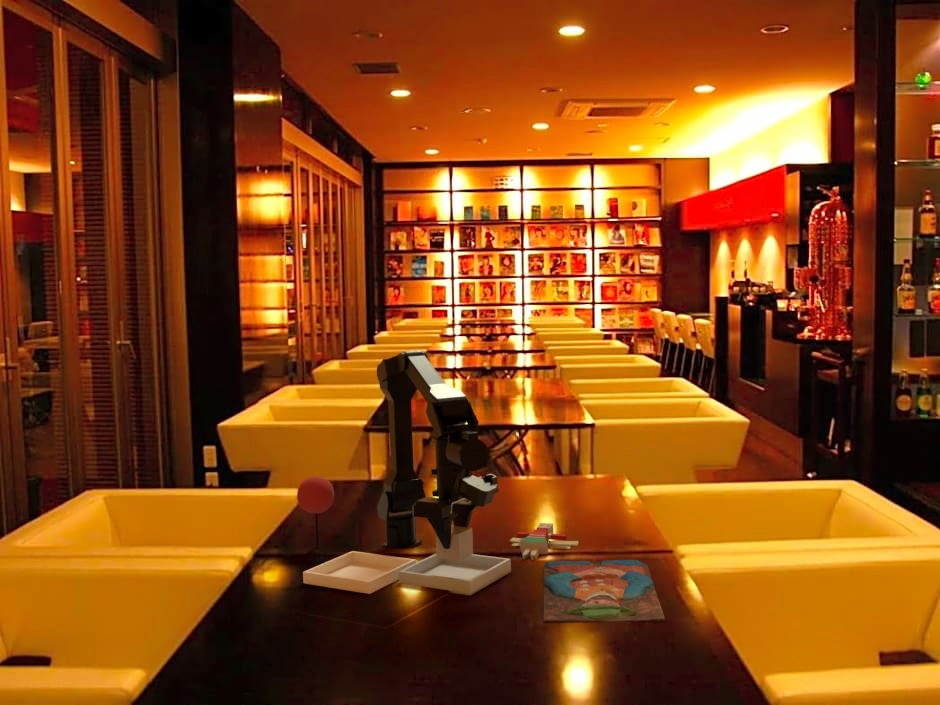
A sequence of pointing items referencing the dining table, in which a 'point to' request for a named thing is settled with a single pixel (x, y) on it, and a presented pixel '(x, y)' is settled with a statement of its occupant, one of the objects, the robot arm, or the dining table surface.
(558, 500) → the dining table surface
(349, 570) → the bin
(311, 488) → the lollipop
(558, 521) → the dining table surface
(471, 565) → the bin
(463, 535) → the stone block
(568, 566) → the plaque
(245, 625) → the dining table surface
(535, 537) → the toy
